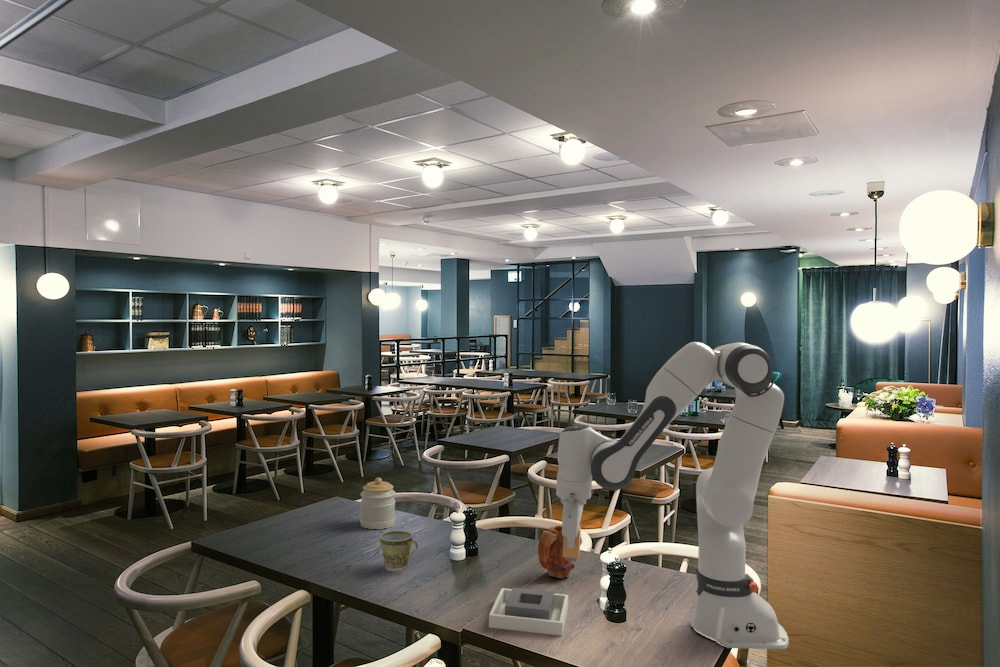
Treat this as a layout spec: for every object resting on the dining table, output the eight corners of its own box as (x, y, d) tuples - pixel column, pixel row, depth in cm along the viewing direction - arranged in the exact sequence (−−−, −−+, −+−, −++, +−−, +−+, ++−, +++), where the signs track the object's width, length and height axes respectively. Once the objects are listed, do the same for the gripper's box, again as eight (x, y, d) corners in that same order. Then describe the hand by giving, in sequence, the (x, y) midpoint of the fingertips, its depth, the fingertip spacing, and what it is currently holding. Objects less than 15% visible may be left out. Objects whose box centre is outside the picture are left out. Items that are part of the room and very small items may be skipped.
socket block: (554, 608, 162) (554, 591, 161) (549, 628, 151) (549, 610, 151) (512, 604, 164) (512, 587, 164) (504, 623, 153) (505, 605, 153)
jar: (384, 517, 240) (385, 472, 240) (401, 525, 230) (402, 478, 230) (353, 523, 232) (354, 476, 232) (370, 532, 222) (370, 483, 222)
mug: (556, 567, 192) (557, 519, 192) (578, 574, 187) (579, 525, 187) (528, 581, 181) (529, 530, 181) (551, 589, 176) (552, 537, 176)
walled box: (568, 609, 163) (568, 594, 163) (562, 639, 148) (562, 623, 148) (501, 602, 167) (501, 588, 167) (488, 631, 151) (489, 614, 151)
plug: (579, 557, 158) (580, 525, 158) (578, 562, 154) (579, 530, 154) (563, 555, 159) (565, 524, 159) (562, 560, 155) (563, 529, 155)
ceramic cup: (372, 570, 188) (372, 537, 188) (392, 559, 197) (393, 528, 197) (407, 578, 182) (407, 544, 182) (426, 567, 191) (427, 535, 191)
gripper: (583, 501, 145) (581, 559, 146) (588, 480, 166) (586, 532, 166) (557, 498, 147) (554, 556, 147) (565, 478, 167) (563, 529, 167)
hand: (571, 543), depth 156 cm, fingers closed on plug, 4 cm apart
